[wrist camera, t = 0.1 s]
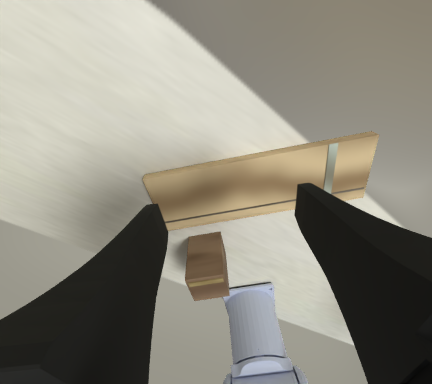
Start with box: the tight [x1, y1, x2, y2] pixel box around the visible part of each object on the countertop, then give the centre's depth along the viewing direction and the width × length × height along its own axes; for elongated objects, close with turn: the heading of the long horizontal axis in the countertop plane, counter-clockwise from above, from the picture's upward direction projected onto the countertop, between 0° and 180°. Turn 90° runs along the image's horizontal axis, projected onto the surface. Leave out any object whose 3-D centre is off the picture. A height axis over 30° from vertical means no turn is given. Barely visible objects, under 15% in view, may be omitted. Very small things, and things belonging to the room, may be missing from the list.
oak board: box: [143, 131, 379, 231], centre depth 22 cm, size 7×22×1 cm, turn 101°
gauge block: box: [185, 232, 230, 301], centre depth 24 cm, size 4×4×6 cm
